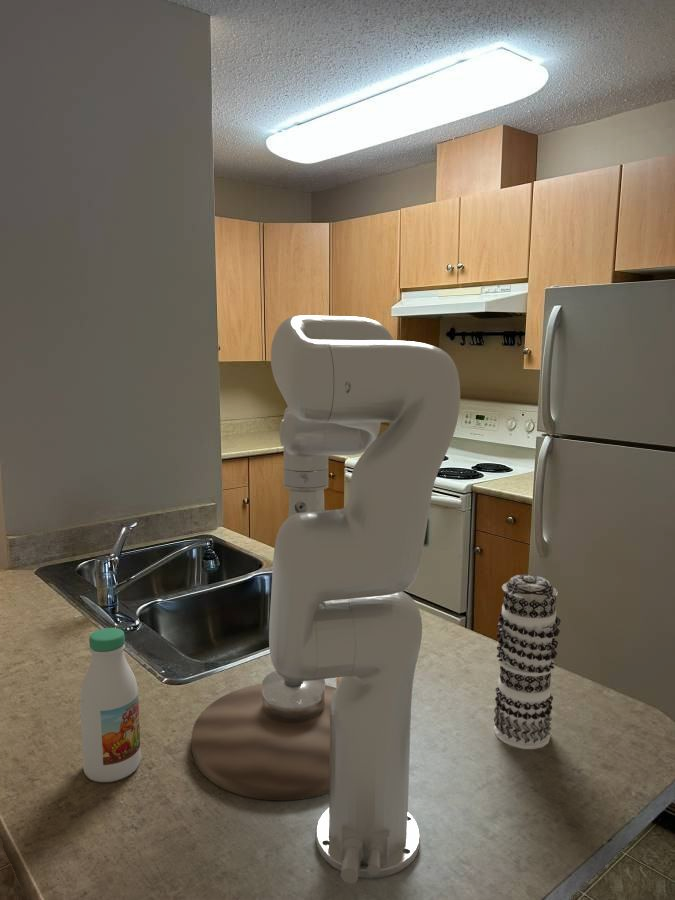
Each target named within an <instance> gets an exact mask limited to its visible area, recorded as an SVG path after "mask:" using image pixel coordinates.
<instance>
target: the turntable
mask: <svg viewBox="0 0 675 900" xmlns="http://www.w3.org/2000/svg"><path fill="white" fill-rule="evenodd" d="M341 678H342V677H338V678H336V682H335V683H336V684H335V685H336V687H337V686H338V684H339V682H340V680H341ZM336 687H335V686H332V685H327V684H325V708H324V710H323V712H322V713H321V714H320V715H319V716H318V717H316V718H314V719H312V720H309V721H305V722H300V723H285V722H279V721H276V720H273V719H271V718H269V717H268V716H267V715H266V714H265V713H264V712H263V709H262V682H261V683H257V684H253V685H249V686H245V687H243V688H239V689H236V690H234V691H231V692H229V693H227V694H224V695H223V696H220V697H219V698H218V699H216V700H215V701H213V702H211V704H209V705H208V706H207V707H205V709H204V710H203V711H201V713H200V714H199V716H198V717H197V718H196V720H195V722H194V724H193V727H192V731H191V753H192V757H193V760H194V763H195V766H196V767H197V768H198V770H199V771H200V772H201V774H202V775H203V776H204V778H206V779H207V780H209V781H210V782H211V783H213V784H214V785H216V786H217V787H220V788H222V789H224V790H226V791H227V792H229V793H233V794H236V795H239V796H243V797H248V798H251V799H257V800H263V801H264V800H266V801H293V800H302V799H309V798H313V797H318V796H321V795H325V794H328V793H329V779H330V708H331V702H332V698H333V695H334V692H335V690H336Z"/></svg>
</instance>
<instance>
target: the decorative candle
mask: <svg viewBox="0 0 675 900" xmlns="http://www.w3.org/2000/svg"><path fill="white" fill-rule="evenodd" d="M501 588H502V590H503V592H504V593H503V604H502V605H501V614H499V615H498V616H497V618H498V619H497V620H498V623H497V624H496V628H497V629H498V632H497V633H496V637H497V641H498V645H497V646H496V650H497V651H498V654H497V655H496V657H497V661H498V664H499V672H500V674H499V676H498V677H497V678H498V679H497V680H498V681H497V687H495V693H496V696H495V697H494V699H495V701H496V702H495V706H494V709H493V711H494V716H493V722H494V726H493V731H494V734H495V736H496V737H497V738H498V739H499V741H501V742H503V743H504V744H506V745H509V746H510V747H513V748H516V749H517V748H518V749H521V750H537V749H540V748H541V749H542V748H544V747H545V746H546V745H548V744H549V742H550V737H551V735H550V734H551V732H550V731H551V730H552V726H551V721H553V719H552V718H553V717H552V716H550V715H551V714H552V710H553V706H552V703H553V702H552V701H554V697H553V695H552V681H551V680H552V678H551V677H552V673H553V671H554V669H555V662H554V660H553V659H556V658H557V656H558V652H557V651H556V649H557V648H558V645H559V642H558V641H557V640H556V639H555V637H557V636H559V634H560V633H561V630H560V629H559V628H558V626H560V623H561V621H562V620H561V619H560V618H559V617H558V616H557V610H556V603H557V602H556V600H557V596H558V593H559V592H558V590H557V589H556V588H555V587H553V586H552V584H551V583H550V581H549V580H548V579H547V578H544V577H542V576H538V575H534V574H517V575H514V576H512V577H510V579H509V580H508V581H507V582H505V583H503V584H502V586H501Z"/></svg>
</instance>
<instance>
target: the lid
mask: <svg viewBox="0 0 675 900" xmlns="http://www.w3.org/2000/svg"><path fill="white" fill-rule="evenodd" d="M261 683H262V709H263V712H264V713H265V714H266V715H267V716H268V717H269V718H271V719H273V720H276V721H279V722H285V723H300V722H305V721H309V720H312V719H314V718H316V717H318V716H319V715H320V714H321V713H322V712H323V710H324V708H325V685H326V680H325V679H320V680H310V681H290V680H287V679H285V678H283V677H282V676H280V675H279V674H278V673H277V671H276V670H274V671H272V672H270V673H268V674H267V675H266V676H265V677H264V678H263V680H262V682H261Z"/></svg>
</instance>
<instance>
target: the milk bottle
mask: <svg viewBox="0 0 675 900" xmlns="http://www.w3.org/2000/svg"><path fill="white" fill-rule="evenodd" d="M125 639H126V637H125V632H124V630H122V629H121V628H118V627H106V628H101V629H97V630H95V631H93V632H92V633H91V634H90V635H89V639H88V640H89V641H88V643H89V647H90V648H89V652H90V653H91V657H90V658H91V659H90V664H89V666H88V668H87V671H86V674H85V675H84V678H83V681H82V684H81V690H80V729H81V747H82V748H81V749H82V766H83V772H84V774H85V776H86V777H87V778H88V779H90V780H91V781H93V782H96V783H97V782H98V783H113V782H116V781H119V780H123V779H125V778H128V776H131V775H132V774H133V773H135V772H136V770H137V769H138V767H139V765H140V763H141V757H142V756H141V751H142V750H141V727H140V726H141V725H140V708H139V707H140V704H139V702H140V701H139V691H138V688H139V687H138V683H137V679H136V677H135V674H134V672H133V670H132V668H131V666H130V665H129V663H128V661H127V659H126V656H125V652H124V649H125V647H126V644H125V641H126V640H125Z"/></svg>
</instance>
